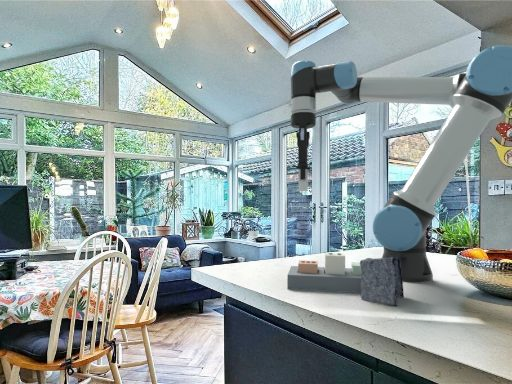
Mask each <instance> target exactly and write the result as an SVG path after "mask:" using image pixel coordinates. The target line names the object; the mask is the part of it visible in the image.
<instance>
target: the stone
mask: <svg viewBox="0 0 512 384" xmlns="http://www.w3.org/2000/svg"><path fill="white" fill-rule="evenodd" d="M399 258H400V257H390V258H382V257H379V258H371V257H367V258H365V259H361V260H360V261H359V263H360V266H361V271H362V275H361V290H362V293H361V295H360V299H361V300H362V301H366V302H372V303H377V304H381V305H385V306H391V307H398V305H397V297H400V298H405V293H404V283H403V282H404V281H402V272H401V263H400V259H399Z"/></svg>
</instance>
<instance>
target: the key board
mask: <svg viewBox="0 0 512 384" xmlns="http://www.w3.org/2000/svg"><path fill="white" fill-rule="evenodd" d="M286 275H287V279H286V281H287V283H286V284H287V290H301V291H303V290H304V291H320V292H321V291H323V292H325V291H326V292H338V293H339V292H341V293H342V292H343V293H359V294H360V293H362V290H361V275H352V267H351V268H349V267H347V268H346V267H345V275H340V274H325V266H324V267H322V266H318V274H317V273H298V265H291V266H290V268H289V270H288V273H287V274H286Z"/></svg>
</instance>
